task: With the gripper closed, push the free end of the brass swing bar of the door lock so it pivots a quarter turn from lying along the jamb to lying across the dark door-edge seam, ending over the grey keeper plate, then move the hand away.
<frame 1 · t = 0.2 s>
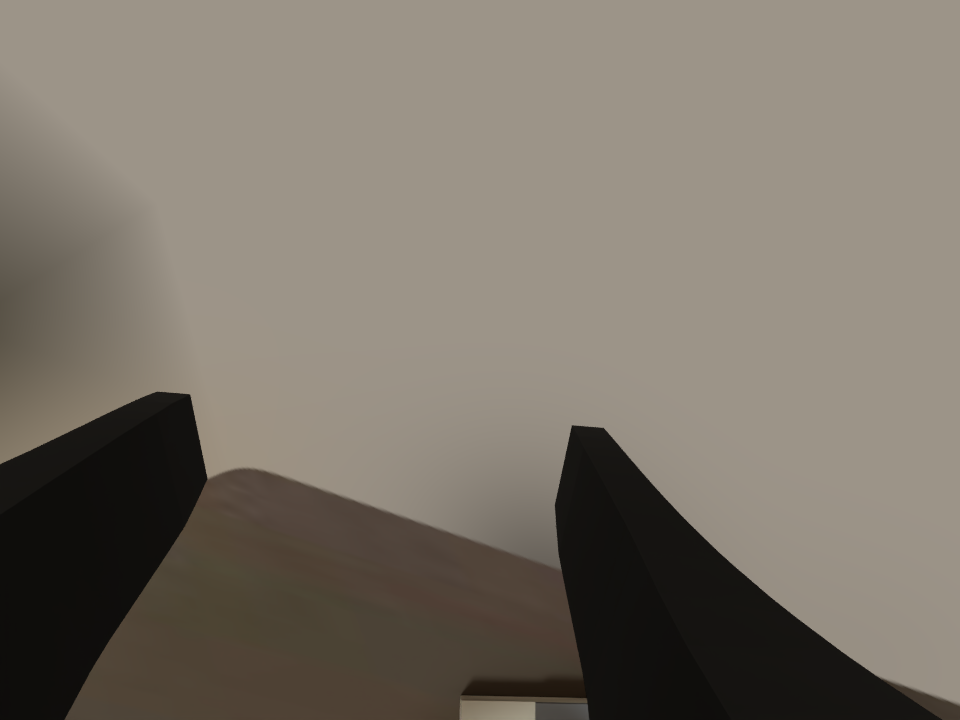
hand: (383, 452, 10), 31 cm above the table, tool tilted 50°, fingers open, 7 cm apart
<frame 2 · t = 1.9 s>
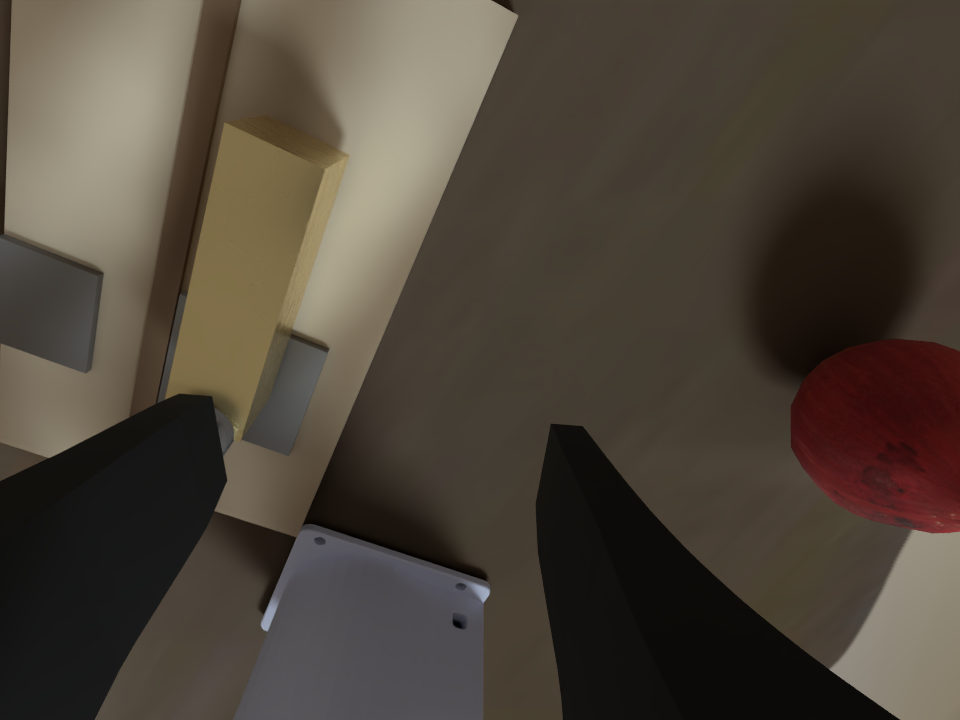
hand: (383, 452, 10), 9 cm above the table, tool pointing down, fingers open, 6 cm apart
onion: (827, 370, 20), on the table
door board: (222, 259, 18), on the table
swing bar: (244, 308, 15), point 3 cm above the table, hinge at 0.0°
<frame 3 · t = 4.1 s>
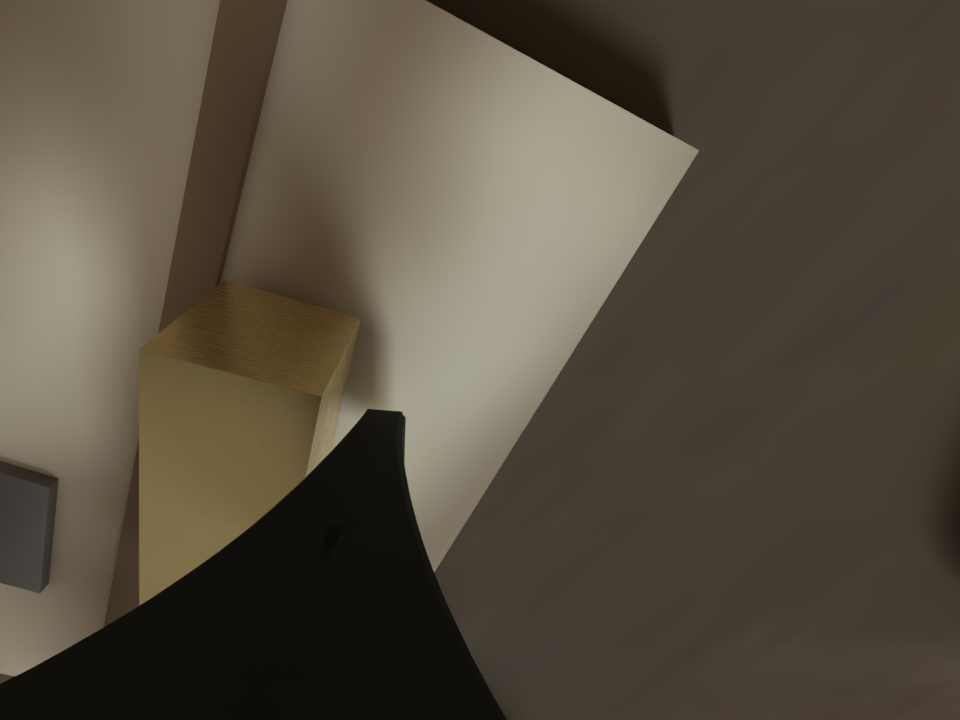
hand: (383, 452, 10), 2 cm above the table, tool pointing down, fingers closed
door board: (225, 443, 13), on the table
swing bar: (233, 558, 10), point 3 cm above the table, hinge at 7.6°, touching gripper
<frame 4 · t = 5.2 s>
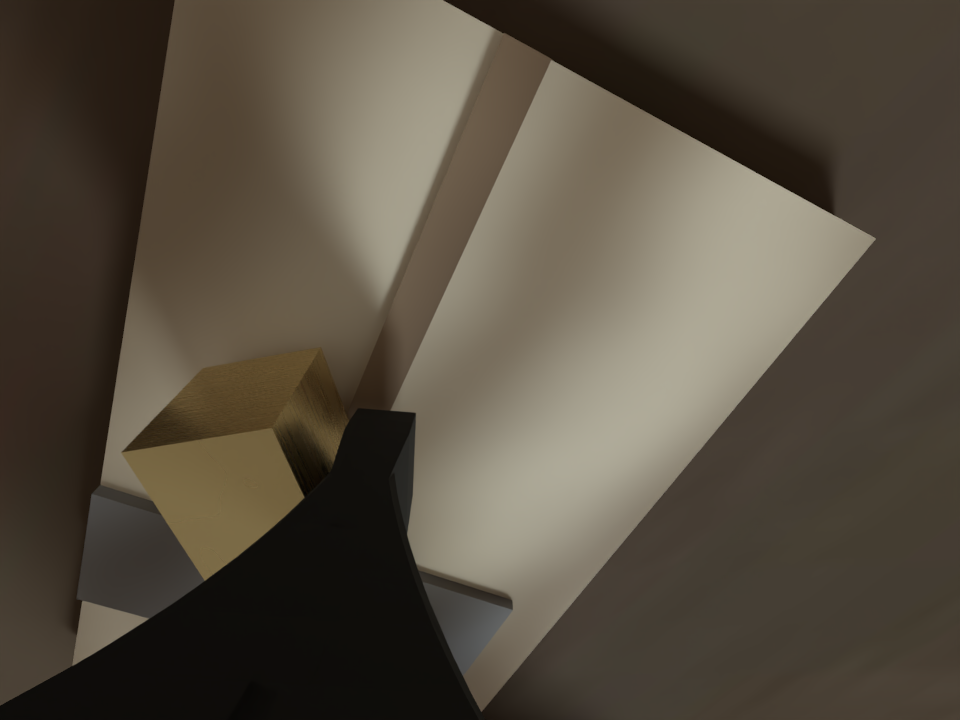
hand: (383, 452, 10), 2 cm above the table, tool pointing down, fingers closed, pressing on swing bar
door board: (374, 488, 14), on the table
swing bar: (325, 601, 11), point 3 cm above the table, hinge at 36.1°, touching gripper
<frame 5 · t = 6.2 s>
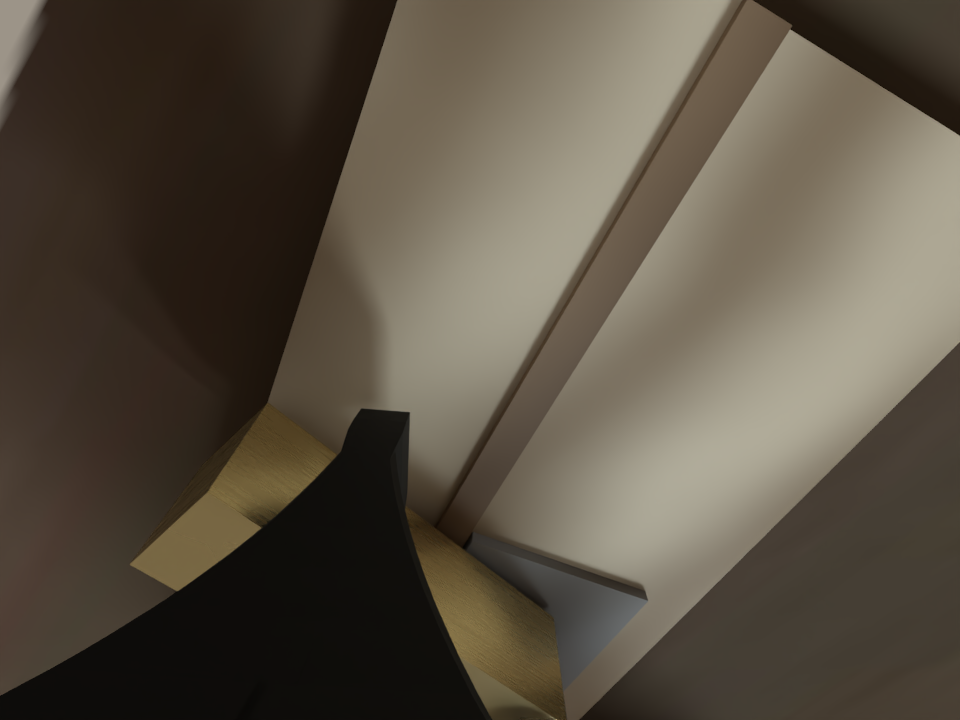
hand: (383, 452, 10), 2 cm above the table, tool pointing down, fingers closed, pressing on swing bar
door board: (507, 477, 14), on the table
swing bar: (399, 619, 11), point 3 cm above the table, hinge at 68.2°, touching gripper
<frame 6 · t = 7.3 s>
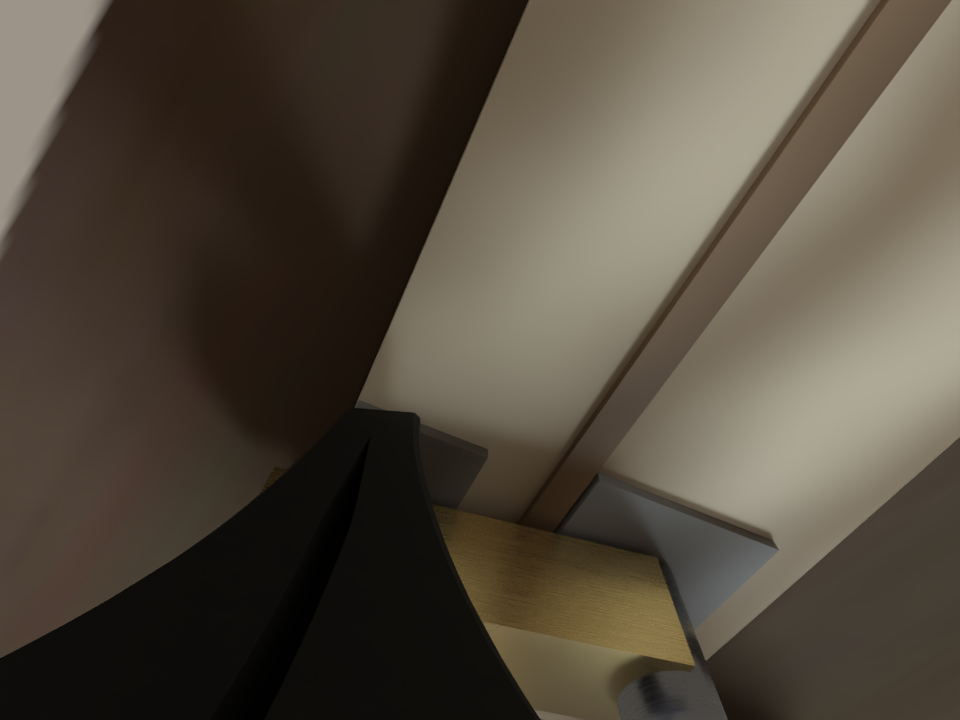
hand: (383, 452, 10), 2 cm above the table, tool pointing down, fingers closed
door board: (627, 416, 13), on the table
swing bar: (480, 615, 11), point 3 cm above the table, hinge at 97.9°, touching gripper
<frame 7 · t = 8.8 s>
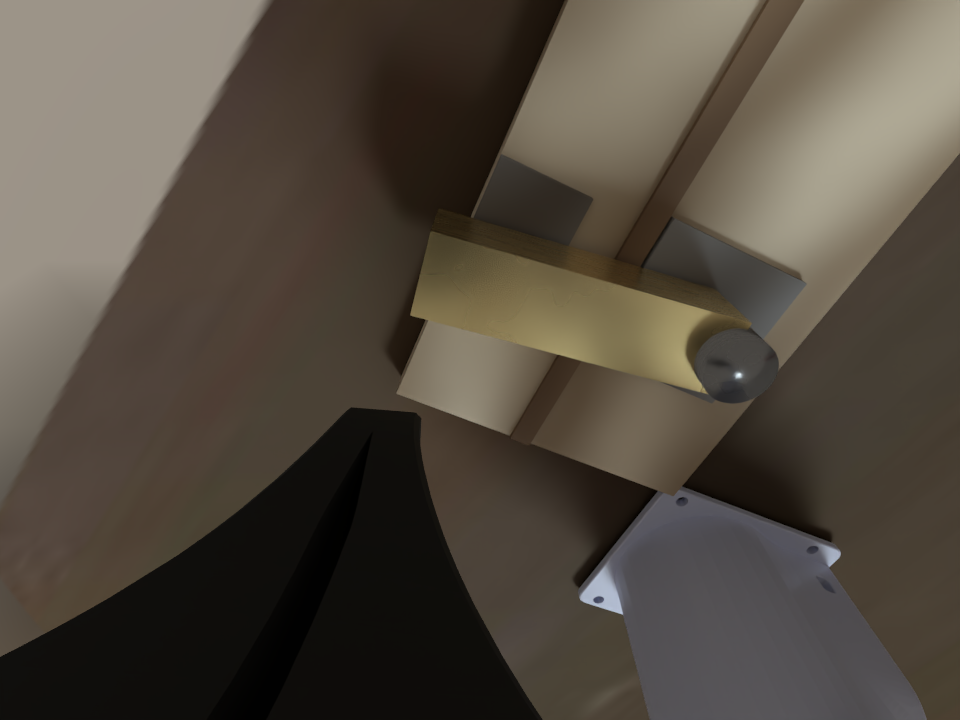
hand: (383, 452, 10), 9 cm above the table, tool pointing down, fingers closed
door board: (690, 185, 17), on the table
swing bar: (591, 309, 15), point 3 cm above the table, hinge at 97.9°
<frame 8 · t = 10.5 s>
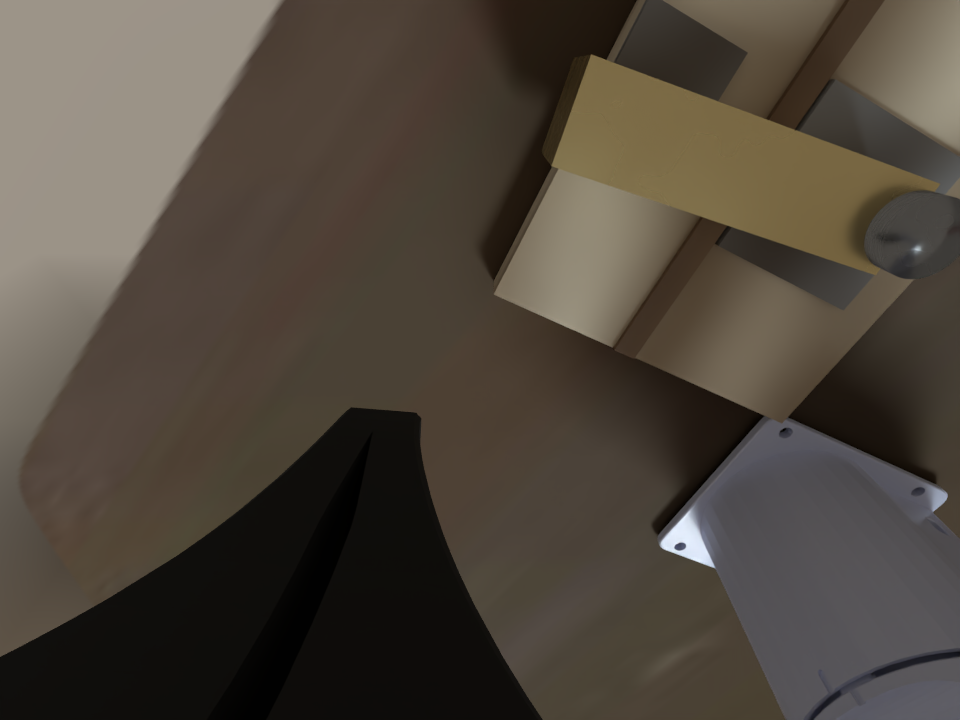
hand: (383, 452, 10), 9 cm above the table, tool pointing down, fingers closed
door board: (843, 51, 15), on the table
swing bar: (746, 174, 13), point 3 cm above the table, hinge at 97.9°
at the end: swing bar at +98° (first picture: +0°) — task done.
